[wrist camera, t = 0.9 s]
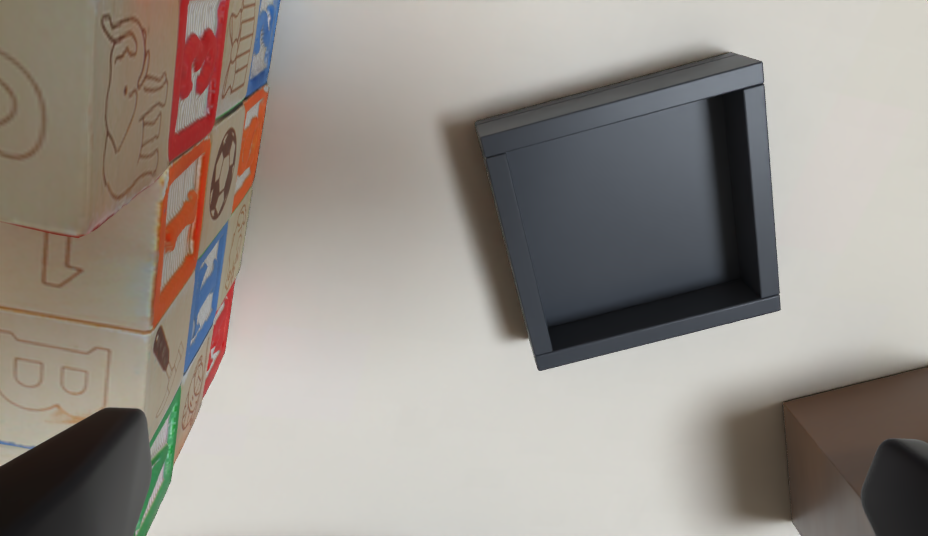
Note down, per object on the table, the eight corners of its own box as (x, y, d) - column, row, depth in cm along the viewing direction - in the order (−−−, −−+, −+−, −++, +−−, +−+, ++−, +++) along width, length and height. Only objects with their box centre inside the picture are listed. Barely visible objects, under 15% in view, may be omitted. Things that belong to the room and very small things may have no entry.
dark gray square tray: (753, 283, 23) (781, 310, 22) (529, 340, 24) (538, 372, 22) (732, 51, 20) (763, 60, 18) (473, 121, 21) (479, 137, 19)
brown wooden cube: (942, 486, 28) (1099, 646, 21) (791, 522, 28) (902, 690, 21) (946, 361, 25) (1127, 499, 19) (782, 402, 25) (904, 551, 19)
